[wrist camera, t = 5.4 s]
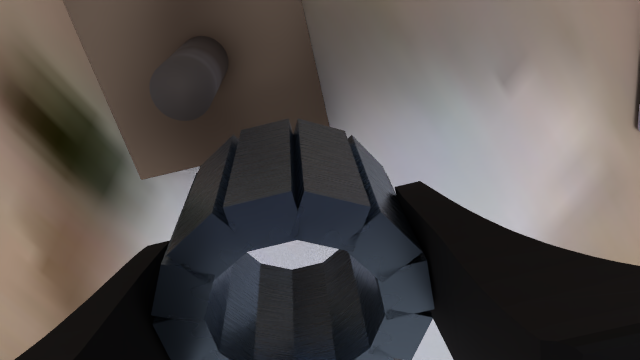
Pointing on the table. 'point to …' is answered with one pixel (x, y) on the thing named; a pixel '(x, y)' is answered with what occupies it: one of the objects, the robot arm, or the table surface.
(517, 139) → the table surface
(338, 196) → the collar
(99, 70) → the shaft base
